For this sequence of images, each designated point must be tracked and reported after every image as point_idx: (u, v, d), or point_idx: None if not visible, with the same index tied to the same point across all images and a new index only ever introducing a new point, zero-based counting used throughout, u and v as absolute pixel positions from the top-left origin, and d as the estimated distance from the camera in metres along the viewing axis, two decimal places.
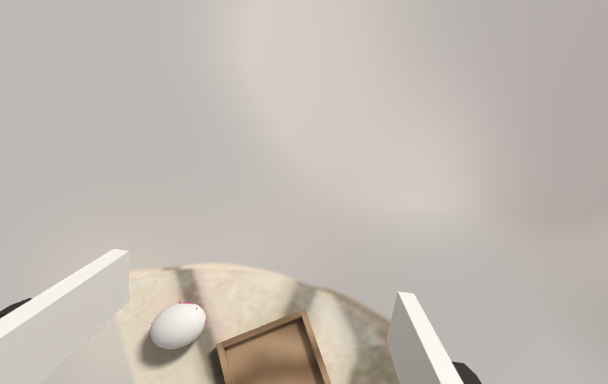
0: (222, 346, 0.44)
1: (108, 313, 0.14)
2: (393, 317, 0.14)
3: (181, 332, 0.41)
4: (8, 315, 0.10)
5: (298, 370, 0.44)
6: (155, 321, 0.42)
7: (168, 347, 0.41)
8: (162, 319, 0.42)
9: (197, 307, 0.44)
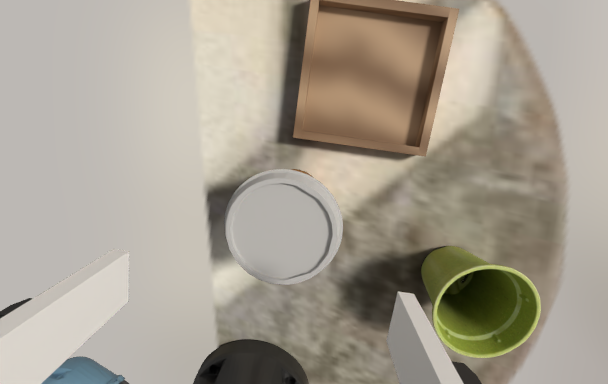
0: None
1: (108, 313, 0.14)
2: (393, 317, 0.14)
3: None
4: (8, 315, 0.10)
5: (397, 89, 0.31)
6: None
7: None
8: None
9: None
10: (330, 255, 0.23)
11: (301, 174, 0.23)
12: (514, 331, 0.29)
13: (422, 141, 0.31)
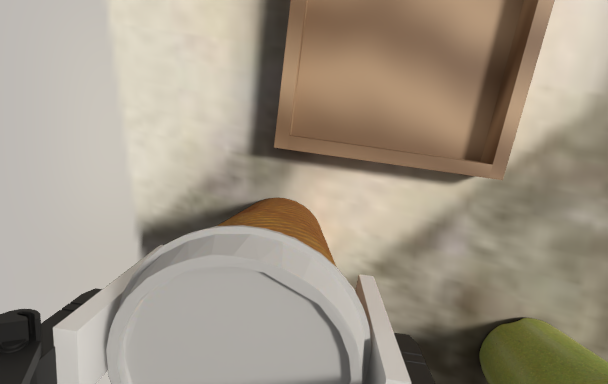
0: None
1: None
2: None
3: None
4: (88, 302, 0.11)
5: (454, 64, 0.18)
6: None
7: None
8: None
9: None
10: None
11: (279, 238, 0.10)
12: None
13: (498, 154, 0.18)
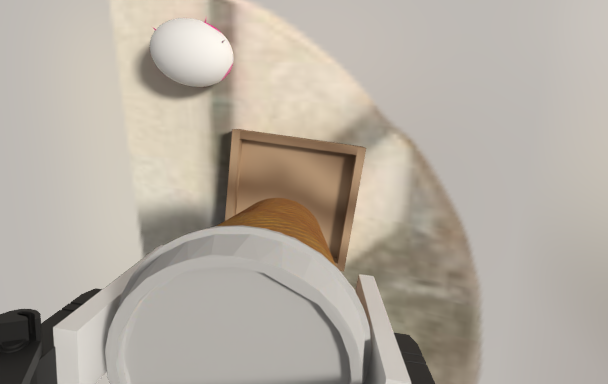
0: (239, 136, 0.31)
1: None
2: None
3: (191, 64, 0.27)
4: (88, 302, 0.11)
5: (318, 209, 0.34)
6: (159, 28, 0.27)
7: (169, 75, 0.28)
8: (168, 29, 0.26)
9: (225, 41, 0.28)
10: None
11: (279, 238, 0.10)
12: None
13: (340, 258, 0.33)
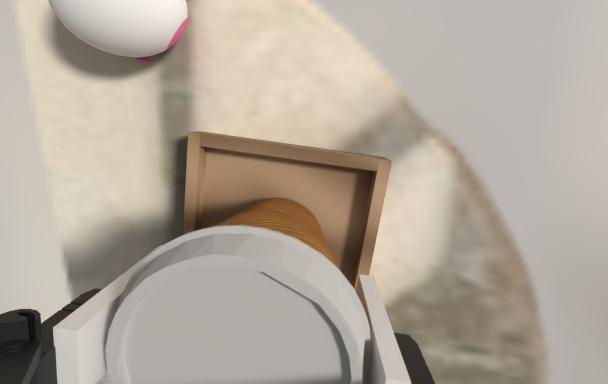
0: (199, 142, 0.20)
1: None
2: None
3: (108, 14, 0.16)
4: (88, 302, 0.11)
5: None
6: None
7: (80, 36, 0.17)
8: None
9: None
10: None
11: (279, 238, 0.10)
12: None
13: None
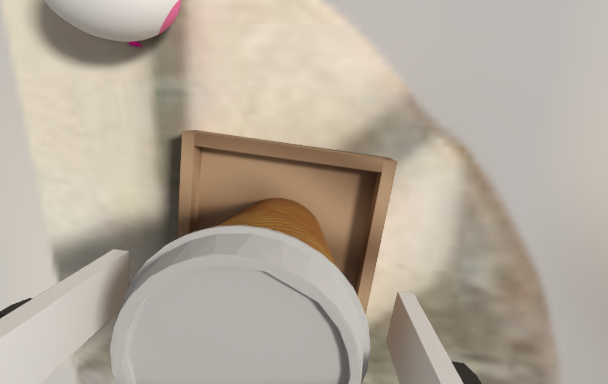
0: (193, 142, 0.19)
1: (108, 313, 0.14)
2: (393, 317, 0.14)
3: None
4: (8, 315, 0.10)
5: None
6: None
7: (66, 17, 0.16)
8: None
9: None
10: None
11: (280, 238, 0.10)
12: None
13: None
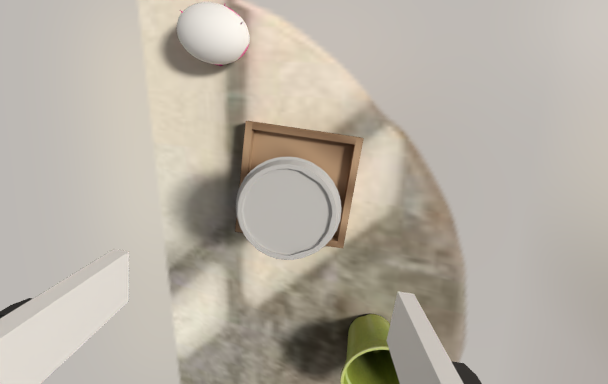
0: (251, 127, 0.35)
1: (108, 313, 0.14)
2: (393, 317, 0.14)
3: (213, 43, 0.30)
4: (8, 315, 0.10)
5: None
6: (186, 10, 0.31)
7: (194, 53, 0.32)
8: (194, 11, 0.30)
9: (243, 23, 0.32)
10: (330, 233, 0.26)
11: (304, 161, 0.26)
12: None
13: (339, 236, 0.38)
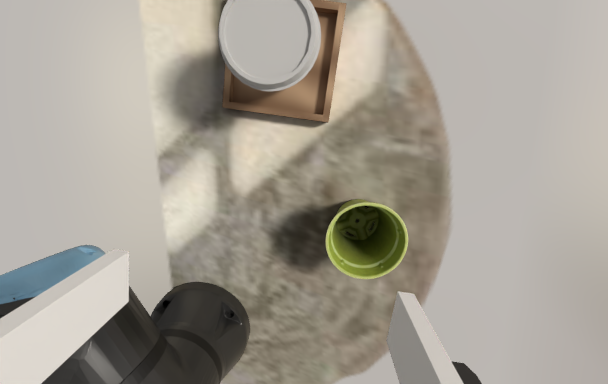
0: None
1: (108, 313, 0.14)
2: (393, 317, 0.14)
3: None
4: (8, 315, 0.10)
5: None
6: None
7: None
8: None
9: None
10: (309, 53, 0.27)
11: None
12: (392, 258, 0.36)
13: (325, 110, 0.38)
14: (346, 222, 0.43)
